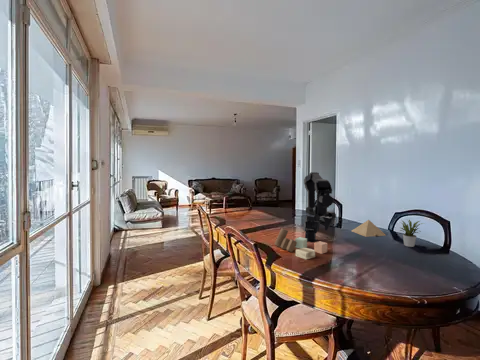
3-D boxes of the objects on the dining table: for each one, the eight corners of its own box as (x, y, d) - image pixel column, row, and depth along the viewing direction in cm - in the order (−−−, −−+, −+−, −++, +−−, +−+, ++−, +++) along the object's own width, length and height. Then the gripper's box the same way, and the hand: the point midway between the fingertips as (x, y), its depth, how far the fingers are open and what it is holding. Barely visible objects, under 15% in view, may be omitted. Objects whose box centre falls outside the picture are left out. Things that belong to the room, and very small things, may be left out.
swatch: (306, 248, 163) (306, 247, 163) (315, 250, 158) (315, 249, 158) (299, 249, 159) (299, 249, 159) (308, 252, 154) (308, 251, 154)
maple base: (304, 253, 153) (304, 247, 153) (314, 257, 148) (315, 250, 147) (295, 256, 149) (295, 249, 149) (305, 260, 144) (306, 253, 143)
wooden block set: (294, 256, 156) (301, 239, 155) (280, 251, 154) (288, 233, 154) (283, 245, 173) (290, 230, 173) (271, 240, 171) (278, 225, 171)
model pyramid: (366, 237, 189) (366, 222, 188) (350, 231, 205) (350, 217, 205) (387, 236, 192) (388, 221, 192) (370, 230, 209) (370, 217, 209)
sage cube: (299, 245, 168) (299, 237, 168) (306, 247, 165) (307, 238, 165) (295, 247, 164) (295, 238, 164) (303, 249, 161) (303, 240, 161)
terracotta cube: (319, 249, 160) (319, 241, 160) (327, 252, 156) (327, 243, 156) (314, 251, 157) (314, 242, 156) (321, 253, 153) (321, 244, 153)
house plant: (428, 245, 170) (429, 218, 169) (423, 250, 160) (424, 222, 159) (401, 241, 180) (402, 215, 178) (395, 245, 169) (396, 218, 168)
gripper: (320, 200, 167) (319, 226, 168) (298, 202, 155) (298, 231, 156) (336, 202, 158) (336, 230, 159) (315, 205, 147) (314, 235, 148)
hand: (321, 231), depth 156 cm, fingers open, 9 cm apart
